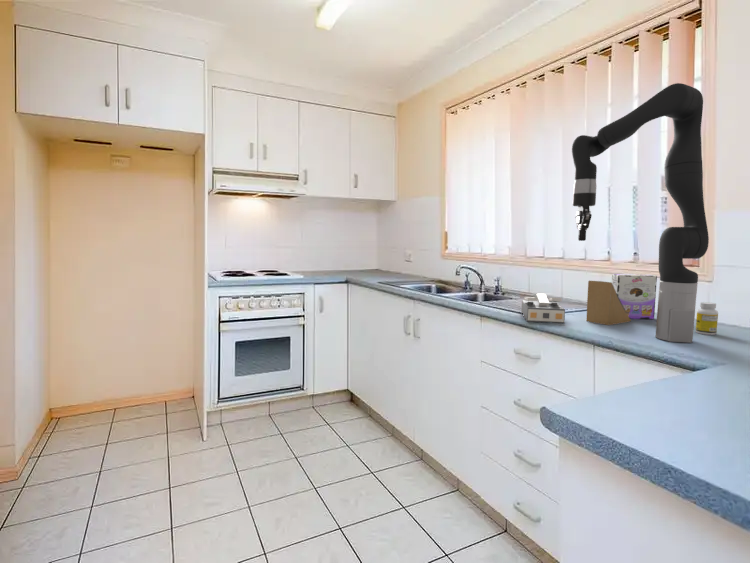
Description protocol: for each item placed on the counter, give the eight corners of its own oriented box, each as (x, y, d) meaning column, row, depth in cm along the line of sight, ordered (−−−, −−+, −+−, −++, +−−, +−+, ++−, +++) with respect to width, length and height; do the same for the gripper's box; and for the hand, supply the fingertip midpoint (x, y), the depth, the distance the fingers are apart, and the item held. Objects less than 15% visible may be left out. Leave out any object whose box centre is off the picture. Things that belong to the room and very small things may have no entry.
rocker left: (536, 301, 160) (536, 297, 160) (527, 300, 161) (527, 297, 161) (533, 300, 169) (533, 297, 169) (524, 300, 170) (524, 296, 170)
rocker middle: (548, 305, 159) (549, 302, 159) (539, 305, 160) (539, 302, 160) (545, 296, 168) (545, 293, 167) (536, 296, 168) (536, 293, 168)
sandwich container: (632, 321, 161) (635, 280, 159) (609, 325, 152) (612, 282, 151) (609, 317, 168) (611, 278, 166) (585, 321, 160) (588, 280, 158)
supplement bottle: (695, 330, 145) (698, 301, 144) (716, 333, 142) (719, 302, 141) (694, 333, 141) (697, 303, 140) (716, 336, 137) (719, 304, 136)
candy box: (646, 316, 170) (650, 274, 168) (654, 319, 164) (658, 275, 162) (608, 315, 171) (611, 273, 170) (615, 318, 166) (618, 274, 164)
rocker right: (561, 301, 158) (561, 297, 158) (552, 300, 159) (552, 297, 159) (556, 302, 167) (556, 299, 167) (547, 301, 168) (547, 298, 168)
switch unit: (564, 323, 154) (565, 307, 153) (527, 321, 157) (528, 305, 156) (554, 314, 172) (555, 299, 171) (521, 312, 175) (522, 298, 174)
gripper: (601, 190, 154) (598, 240, 155) (590, 194, 167) (588, 240, 168) (578, 190, 155) (575, 240, 157) (569, 194, 168) (566, 240, 170)
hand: (581, 240), depth 163 cm, fingers closed
